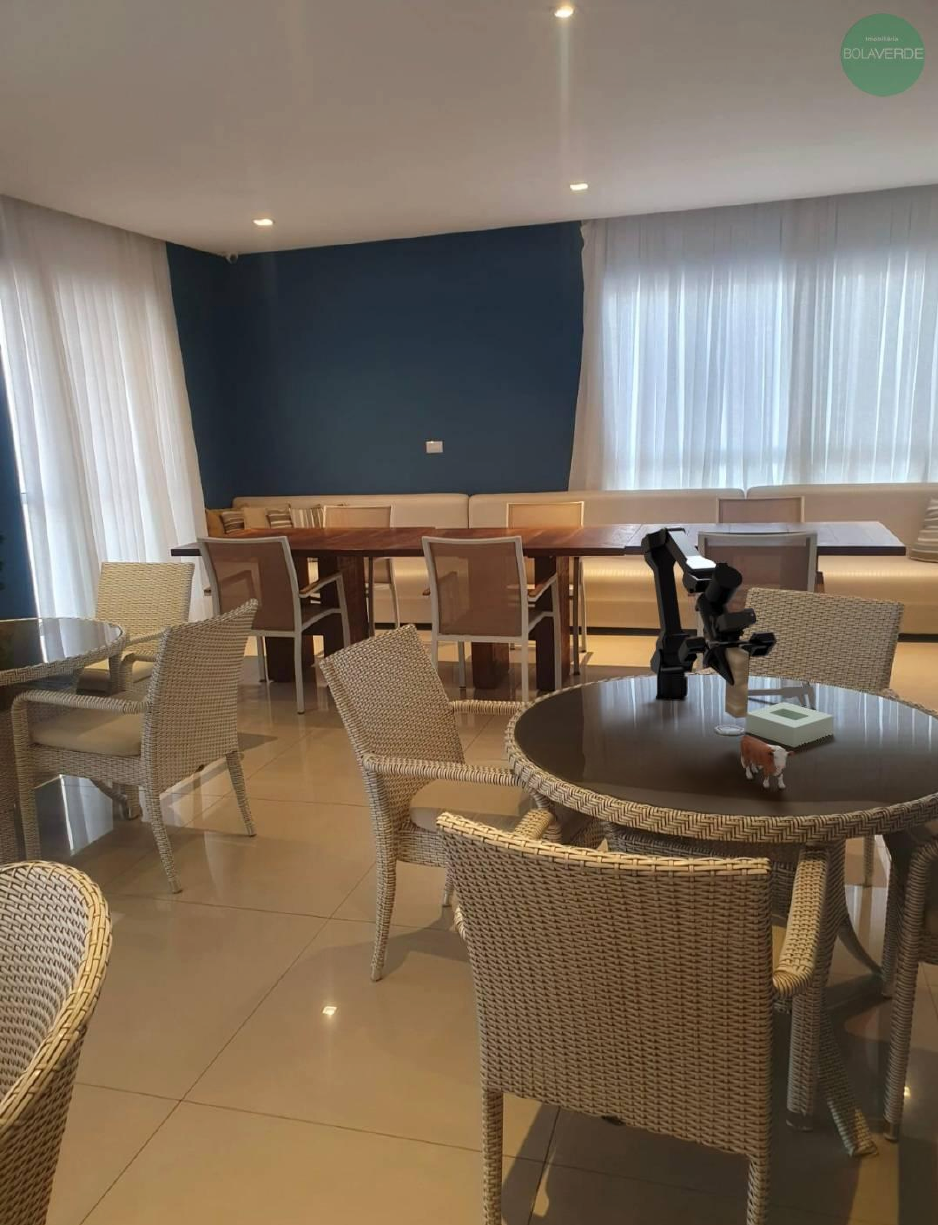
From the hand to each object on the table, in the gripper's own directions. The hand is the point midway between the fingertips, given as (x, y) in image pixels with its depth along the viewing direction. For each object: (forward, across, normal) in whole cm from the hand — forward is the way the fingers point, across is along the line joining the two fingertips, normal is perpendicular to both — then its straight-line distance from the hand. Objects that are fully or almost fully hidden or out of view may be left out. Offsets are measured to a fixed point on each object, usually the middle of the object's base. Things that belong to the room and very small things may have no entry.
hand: (739, 683), depth 169 cm
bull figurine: (+22, -4, -4) cm, 23 cm away
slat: (+4, 0, +6) cm, 7 cm away
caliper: (-9, +20, +28) cm, 35 cm away
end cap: (+6, +13, +12) cm, 19 cm away
